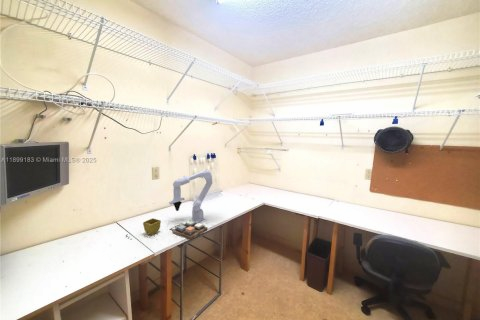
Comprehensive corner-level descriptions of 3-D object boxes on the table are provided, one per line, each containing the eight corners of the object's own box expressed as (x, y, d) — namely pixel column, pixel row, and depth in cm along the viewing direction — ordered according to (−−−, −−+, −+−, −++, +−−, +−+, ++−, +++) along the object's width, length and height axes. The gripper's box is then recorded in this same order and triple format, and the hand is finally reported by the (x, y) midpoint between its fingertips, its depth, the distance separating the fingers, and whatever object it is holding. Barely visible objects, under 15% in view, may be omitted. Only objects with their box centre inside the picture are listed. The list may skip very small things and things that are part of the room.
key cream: (198, 226, 152) (198, 223, 152) (202, 227, 150) (202, 224, 150) (194, 228, 149) (194, 225, 148) (198, 229, 146) (198, 226, 146)
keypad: (189, 224, 160) (189, 220, 159) (207, 229, 151) (207, 225, 151) (172, 233, 144) (172, 228, 144) (190, 240, 135) (190, 235, 135)
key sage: (190, 223, 156) (190, 220, 156) (194, 225, 154) (194, 222, 154) (186, 225, 152) (186, 222, 152) (190, 227, 150) (190, 224, 150)
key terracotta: (189, 229, 144) (189, 226, 144) (194, 230, 142) (194, 227, 142) (185, 231, 141) (185, 228, 140) (190, 233, 138) (190, 230, 138)
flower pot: (142, 234, 142) (142, 222, 141) (152, 229, 149) (152, 217, 148) (151, 237, 138) (151, 224, 137) (161, 232, 146) (161, 220, 145)
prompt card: (181, 223, 160) (181, 223, 160) (184, 224, 158) (184, 224, 158) (169, 229, 150) (169, 228, 150) (173, 230, 148) (173, 230, 148)
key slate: (182, 228, 148) (182, 225, 148) (186, 229, 146) (186, 226, 146) (177, 230, 145) (177, 227, 144) (181, 231, 142) (181, 228, 142)
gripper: (180, 191, 170) (180, 207, 172) (166, 195, 158) (166, 212, 159) (186, 193, 167) (186, 208, 168) (172, 197, 154) (173, 214, 156)
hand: (177, 210), depth 163 cm, fingers closed
